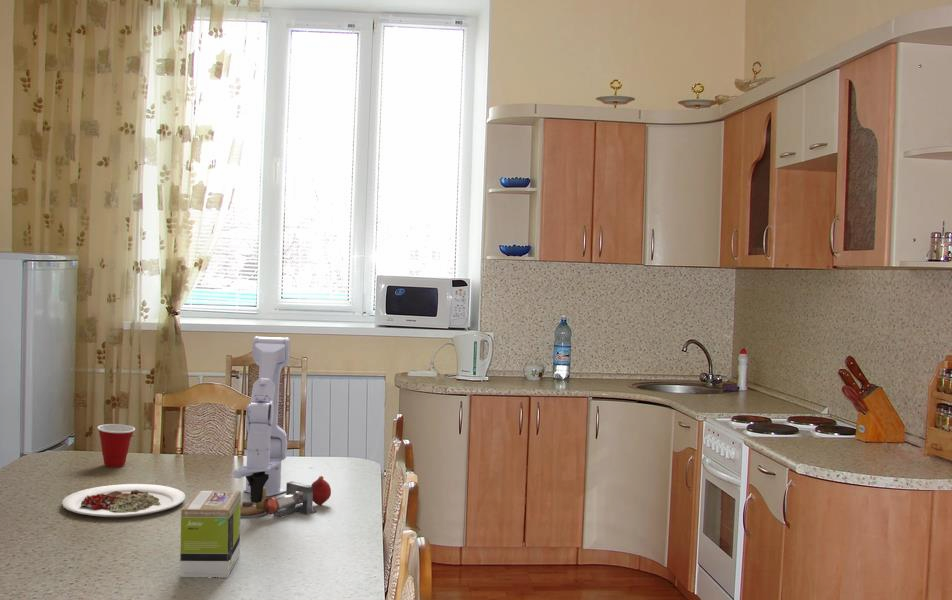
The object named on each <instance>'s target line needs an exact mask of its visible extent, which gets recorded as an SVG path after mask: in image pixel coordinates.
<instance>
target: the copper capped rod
mask: <svg viewBox="0 0 952 600" xmlns="http://www.w3.org/2000/svg"><path fill="white" fill-rule="evenodd" d="M297 504H303V492H298V491H296V493H293V494H290V495H286V494H285V495H283V496H278V497H274V496H268V497H266V499H265V501H264V504H263V506H264V510H265V512H266V513H267V515H274V513H276V512H277V511H278V510H280V509H283V508H287V507H290V506H294V505H297Z"/></svg>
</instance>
